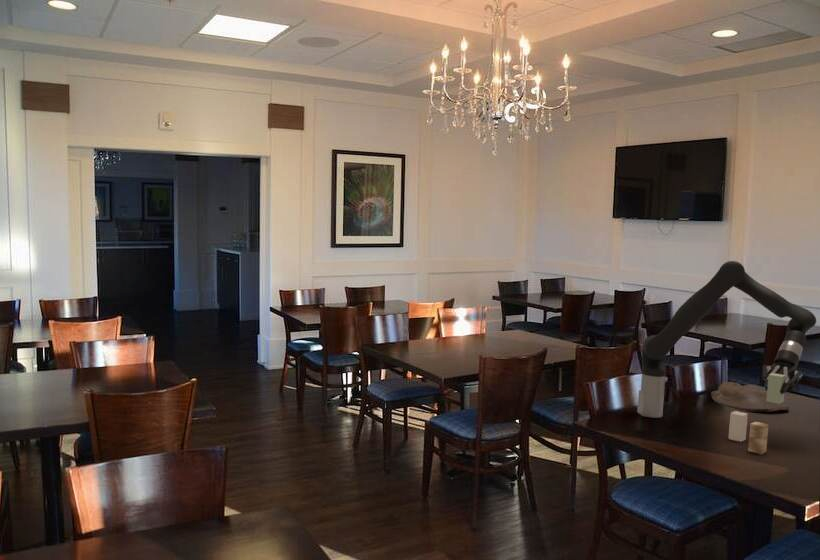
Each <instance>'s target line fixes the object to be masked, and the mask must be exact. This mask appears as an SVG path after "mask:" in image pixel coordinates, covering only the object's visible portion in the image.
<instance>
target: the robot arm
mask: <svg viewBox="0 0 820 560" xmlns="http://www.w3.org/2000/svg"><path fill="white" fill-rule="evenodd" d="M732 288H736V289H738V290H739V291H742V292H743V293H745V294H746V295H748V296H749V297H751V298H752V299H753V300H755V302H757V303H759V304H760V305H761V306H762V307H764V308H765V309H767V310H768V311H770V312H771V313H772V314H773V315H775V317H778V318H779V319H780V318H781V319H782V318H786V317H787V318H790V320H789V321H788V323H787V326H786V331H785V332H786V333H785V336H784V339H783V341H782V343H781V345H780V347H779V349H778V351H777V353H776V356H775V357H774V360H773V363H772V364H771V365H767V364H763V365H762V379H763V381H764V382H765V384H764V389H765V391H766V392H767V389H768V373H769V372H770V373H769V374H772V373H776V374H782V375H785V379H784V383H783V385H782V387H781V389H780V393H781V394H784V393H785V394H786V392H787V390H788V388H789V387H795V386H796V385H797V383H799V381H800V380H801V379H802V378H803V371H801V370H799V371H798V370H797V367H798V364H799V362H800V359H801V358H802V354H803V353H802V352H803V349H804V347H805V345H806V341H807V337H806V333H807V332H808V331H809V330H810V329H811V328H813V327H815V325H816V324H817V318H816V316H815V315H814V313H813V312H812V311H810V310H808V309H806V308H804V307H801V306H800V305H798V304H795V303H792V302H790V301H789V300H787V299H786V298H785V297H783V296H781V295H780V294H778V293H777V292H775V291H774V290H772V289H770V288H768V287H767V286H765V285H763V284H761V283H759V282H758V281H757V280H756V279H754V278H753V277H752V276H750V275H749V274H748V273H747V272H746V269H745V267H744V265H743V263H741V262H739V261H736V260H728V261H726V262H724V263H723V264H722V265H721V266H720V267H719V269H718V271H717V272H716V273H715V275H713V277H712V278H711V279H710V280H709V281H708V282H707V283H706V284H705V285H703V287H701V288H700V289H699V290H697V291H695V293H694V294H692V295H691V296H690V297H689V298H687V300H685V301H684V303H682V305H680V307H679V308H678V309H677V311H676V312H675V313H674V314H673V316H672V317H671V320H670V321H669V322H668V324H667V325H666V326H665V327H664V328H663V329H662V330H661V331H659V333H657V334H653V335H649V336H647V337H646V338H645V340H644V342H643V345H642V352H641V353H642V355H641V356H642V357H641V381H640V390H638V397H637V411H636V412H637V414H639V415H640V416H642V417H646V418H653V419H654V418H663V415H664V412H663V411H664V410H663V409H664V397H665V385H666V384H665V383H666V371H667V370H666V369H667V368H666V358H667V357H666V356H667V355H668V354H669V352H670V351H671V350H672V349H673V348H674V347H675V345H676V344H677V343H678V341H679V340H681V338H683V337H684V336H685V335H687V333H688V332H690V331H691V330H692V329H693V328H694V327H695V326H697V324H699V323H700V322H701V320H703V318H705V317H706V315H708V313H710V312H711V310H712V309H713V308H714V306H715V305H716V304H717V303H718V301H720V299H721V298H722V297H723V295H725V294H726V293H727V292H728V291H730V290H731V289H732ZM770 370H771V371H770ZM793 375H794V376H793ZM792 376H793V377H792ZM790 377H792V378H791V379H790ZM785 394H784V395H785Z"/></svg>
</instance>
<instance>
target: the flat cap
mask: <svg viewBox="0 0 820 560" xmlns="http://www.w3.org/2000/svg"><path fill="white" fill-rule="evenodd" d="M710 395H711V399H712V400H713V401H714V402H715V403H717V404H719V405H722V406H725V407H727V408H732V409H734V410H735V409H736V410H739V411H744V412H753V413H754V412H755V413H759V412H762V413H765V412H766V413H767V412H775V411H783V410H784V411H787V410H788V411H789V405H787V404H784V403H780V404H778V403H773V402H768V401H766V398H767V393H764V392H763V391H760V390H758V389H755V388H752V387H746V386H744V385H742V384H740V383H738V382H733V381H723V382H722V383H721V384H720V385H719V386H718V388H717V390H713V391H711V392H710Z"/></svg>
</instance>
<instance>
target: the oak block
mask: <svg viewBox="0 0 820 560" xmlns="http://www.w3.org/2000/svg"><path fill="white" fill-rule="evenodd" d="M749 426H750V427H749V438H748V448H747V451H748V452H751V453H755V454H757V453H758V455H763V454H765V453H767V445H768V437H769V434H768V433H769V427H770V426H769V424H767V423H763V422H758V421H754V422H752V423H750V424H749Z"/></svg>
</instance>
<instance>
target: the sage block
mask: <svg viewBox="0 0 820 560" xmlns="http://www.w3.org/2000/svg"><path fill="white" fill-rule="evenodd" d="M767 377H768V389H767V391H766V395H767V398H766V401H768V402H773V403H778V404H780V403H781V404H783V403H784V402H785V394H786V393H784V394H781V393H780V389H781V387H782V385H783V383H784V379H785V375H782V374H776V373H772V374H770V373H769V374H768V375H767Z"/></svg>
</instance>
